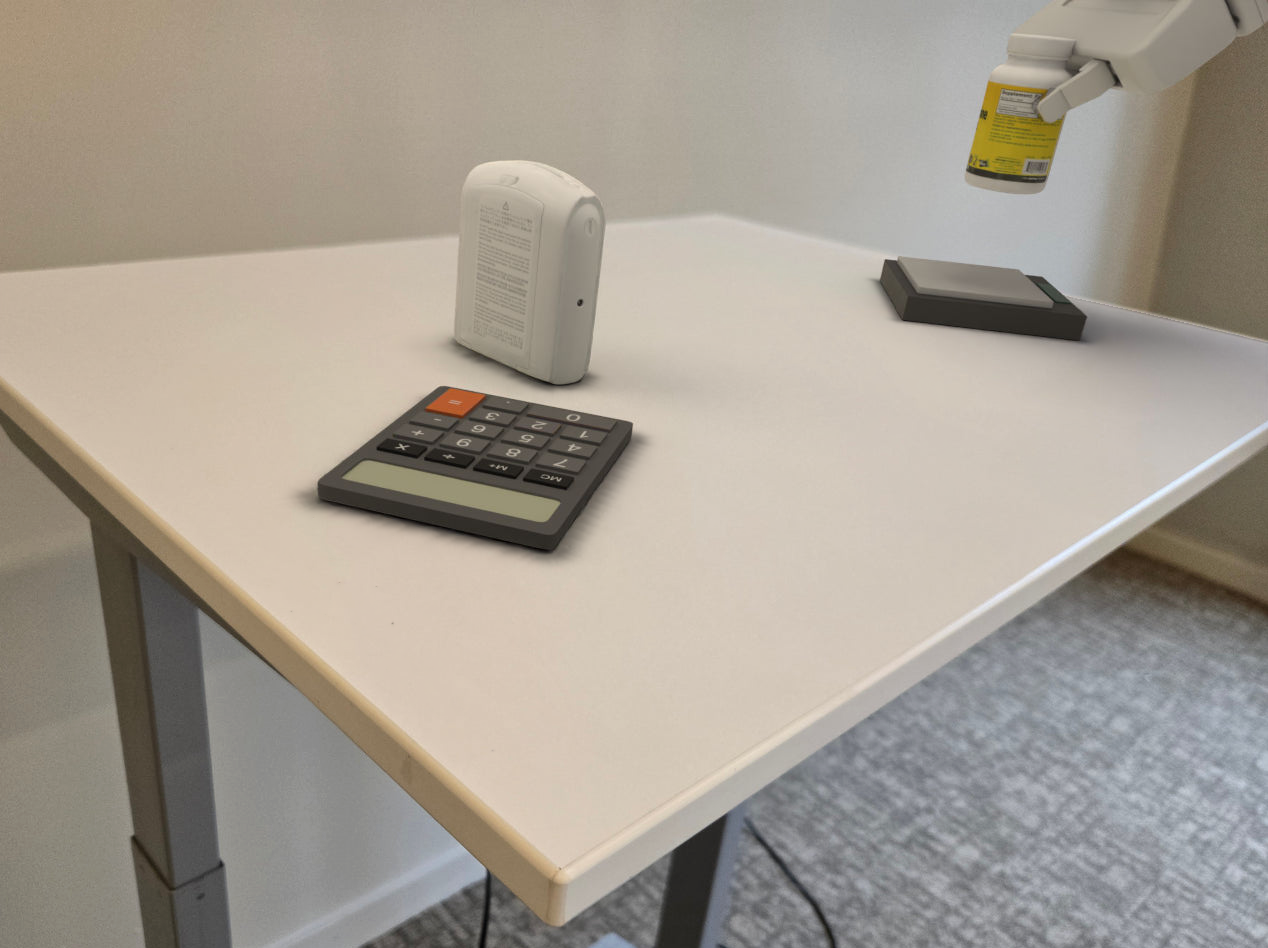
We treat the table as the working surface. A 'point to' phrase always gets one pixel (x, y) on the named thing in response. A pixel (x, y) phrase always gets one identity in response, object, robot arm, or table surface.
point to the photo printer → (529, 268)
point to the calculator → (482, 466)
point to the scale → (979, 298)
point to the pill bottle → (1019, 117)
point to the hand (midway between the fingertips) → (1016, 108)
